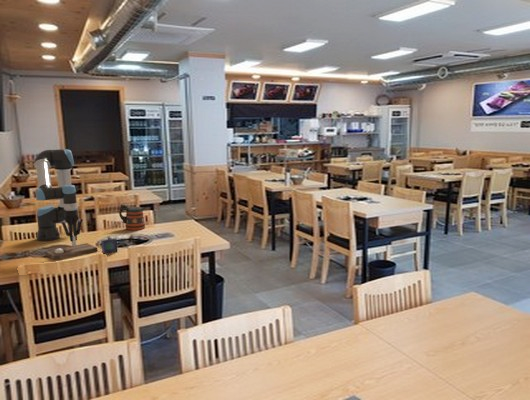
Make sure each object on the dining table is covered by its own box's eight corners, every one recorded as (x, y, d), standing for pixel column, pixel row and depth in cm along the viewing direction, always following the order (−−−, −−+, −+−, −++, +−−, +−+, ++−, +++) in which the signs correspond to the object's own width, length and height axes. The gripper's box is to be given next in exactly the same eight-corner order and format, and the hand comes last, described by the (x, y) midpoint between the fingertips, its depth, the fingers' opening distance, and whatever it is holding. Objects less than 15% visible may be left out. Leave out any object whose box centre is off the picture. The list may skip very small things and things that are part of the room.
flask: (102, 254, 259) (101, 237, 257) (101, 253, 261) (100, 236, 260) (117, 252, 263) (116, 236, 261) (117, 251, 265) (116, 235, 264)
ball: (52, 248, 255) (61, 246, 259) (54, 256, 256) (62, 254, 260) (55, 250, 252) (63, 247, 255) (56, 257, 253) (65, 255, 256)
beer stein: (119, 231, 317) (118, 206, 314) (120, 227, 331) (118, 203, 328) (145, 229, 323) (143, 204, 319) (145, 225, 336) (143, 201, 333)
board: (45, 255, 258) (45, 251, 257) (87, 246, 276) (86, 243, 276) (55, 260, 247) (54, 256, 246) (97, 251, 265) (97, 247, 265)
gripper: (62, 211, 251) (65, 249, 255) (83, 208, 260) (86, 244, 264) (57, 210, 256) (61, 246, 260) (79, 207, 265) (82, 242, 269)
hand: (74, 245), depth 262 cm, fingers closed
